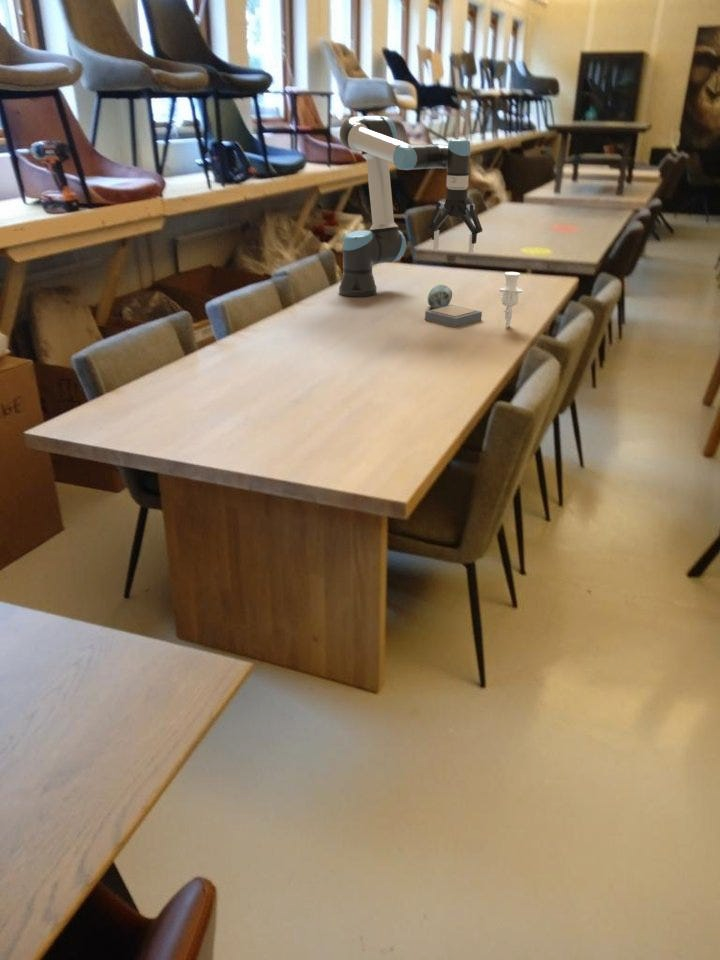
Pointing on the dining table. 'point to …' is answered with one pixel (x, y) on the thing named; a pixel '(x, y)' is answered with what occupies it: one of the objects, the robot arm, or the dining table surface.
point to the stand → (453, 315)
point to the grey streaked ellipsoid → (439, 296)
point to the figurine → (510, 294)
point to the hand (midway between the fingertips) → (453, 251)
